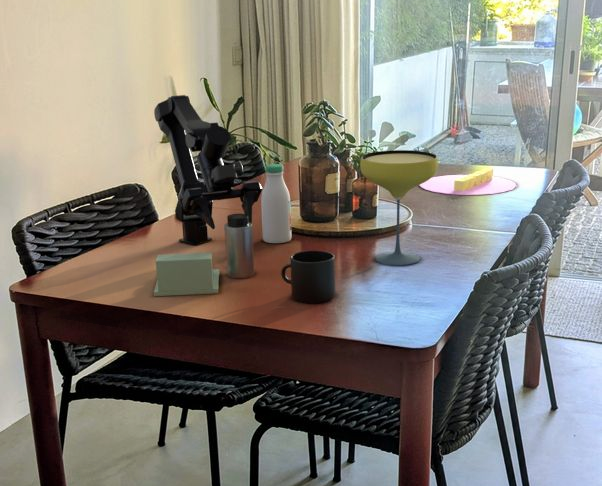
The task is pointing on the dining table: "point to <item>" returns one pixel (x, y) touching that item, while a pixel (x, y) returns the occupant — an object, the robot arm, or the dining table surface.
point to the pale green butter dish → (186, 274)
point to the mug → (311, 276)
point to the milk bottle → (275, 207)
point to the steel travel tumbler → (239, 246)
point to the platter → (469, 184)
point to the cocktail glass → (398, 185)
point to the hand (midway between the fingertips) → (232, 225)
